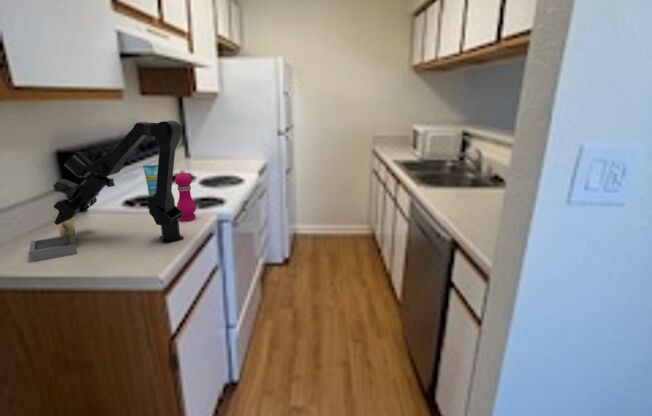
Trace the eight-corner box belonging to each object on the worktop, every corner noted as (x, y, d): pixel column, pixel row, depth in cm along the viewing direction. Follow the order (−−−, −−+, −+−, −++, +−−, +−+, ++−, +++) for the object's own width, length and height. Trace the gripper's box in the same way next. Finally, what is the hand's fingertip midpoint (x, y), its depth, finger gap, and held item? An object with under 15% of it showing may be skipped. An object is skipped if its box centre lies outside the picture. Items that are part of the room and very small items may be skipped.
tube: (147, 210, 166) (141, 166, 161) (149, 207, 171) (143, 164, 165) (165, 209, 168) (160, 165, 163) (167, 206, 172) (162, 163, 167)
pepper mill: (184, 223, 148) (179, 171, 142) (174, 219, 152) (168, 169, 147) (200, 218, 153) (196, 169, 148) (190, 215, 157) (185, 167, 152)
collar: (77, 253, 118) (75, 244, 117) (31, 262, 112) (29, 252, 111) (75, 242, 127) (73, 234, 126) (32, 250, 121) (30, 241, 120)
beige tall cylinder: (76, 239, 130) (69, 202, 127) (61, 242, 128) (53, 204, 124) (76, 236, 134) (69, 200, 130) (60, 238, 131) (53, 201, 128)
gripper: (81, 166, 134) (52, 198, 135) (54, 176, 116) (22, 213, 117) (109, 187, 137) (80, 218, 138) (87, 200, 120) (55, 235, 121)
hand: (60, 220), depth 129 cm, fingers open, 6 cm apart
